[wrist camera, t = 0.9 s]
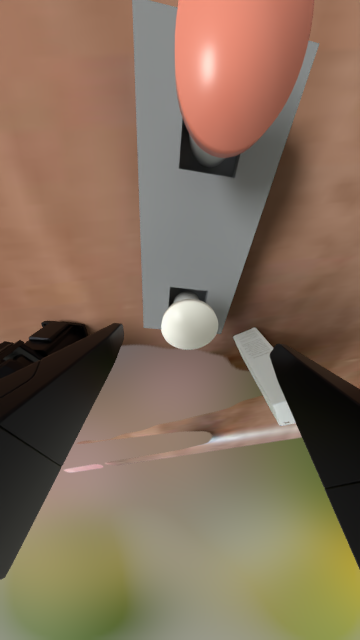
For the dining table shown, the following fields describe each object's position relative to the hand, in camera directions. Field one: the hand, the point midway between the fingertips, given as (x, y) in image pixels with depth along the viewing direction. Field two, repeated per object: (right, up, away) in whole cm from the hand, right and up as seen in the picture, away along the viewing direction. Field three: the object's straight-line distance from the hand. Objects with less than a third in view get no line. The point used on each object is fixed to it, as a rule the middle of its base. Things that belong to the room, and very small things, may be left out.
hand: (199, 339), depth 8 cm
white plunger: (0, +3, +8) cm, 9 cm away
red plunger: (+1, +14, +1) cm, 14 cm away
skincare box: (+12, -3, +18) cm, 21 cm away
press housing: (0, +11, +9) cm, 14 cm away
